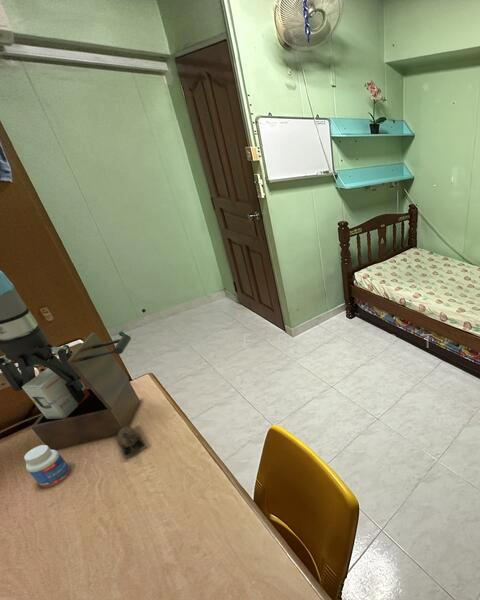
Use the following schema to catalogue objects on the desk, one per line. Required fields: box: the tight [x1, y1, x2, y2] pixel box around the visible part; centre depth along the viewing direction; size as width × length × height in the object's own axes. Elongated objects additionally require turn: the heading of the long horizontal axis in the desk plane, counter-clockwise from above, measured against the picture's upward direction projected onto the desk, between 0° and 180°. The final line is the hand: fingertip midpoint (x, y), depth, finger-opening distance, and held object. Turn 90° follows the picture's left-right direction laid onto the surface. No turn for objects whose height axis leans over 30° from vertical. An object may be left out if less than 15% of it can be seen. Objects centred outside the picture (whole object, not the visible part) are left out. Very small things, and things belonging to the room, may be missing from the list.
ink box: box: [22, 367, 90, 419], centre depth 83 cm, size 9×5×12 cm, turn 2°
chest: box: [30, 379, 141, 451], centre depth 89 cm, size 17×13×10 cm
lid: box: [67, 331, 132, 410], centre depth 85 cm, size 17×13×9 cm
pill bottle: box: [23, 444, 71, 488], centre depth 75 cm, size 6×5×10 cm
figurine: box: [116, 426, 147, 460], centre depth 83 cm, size 14×4×9 cm, turn 50°
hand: (65, 401), depth 85 cm, fingers closed on ink box, 6 cm apart
